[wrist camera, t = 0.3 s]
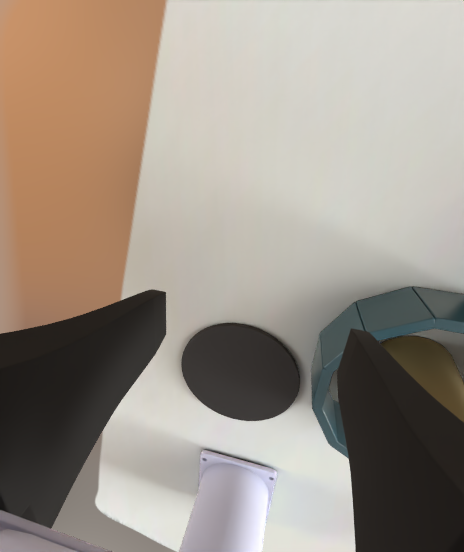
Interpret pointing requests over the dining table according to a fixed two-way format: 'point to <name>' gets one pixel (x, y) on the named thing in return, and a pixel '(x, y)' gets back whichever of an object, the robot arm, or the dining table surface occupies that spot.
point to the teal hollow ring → (382, 325)
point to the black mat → (240, 372)
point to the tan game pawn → (430, 369)
